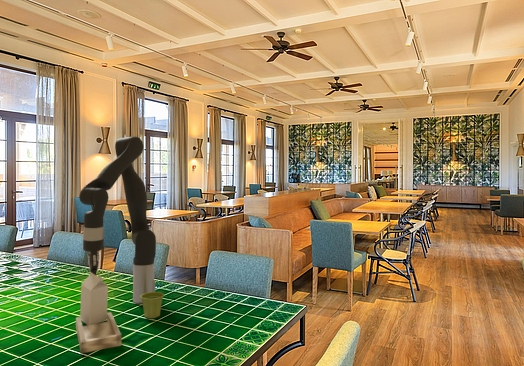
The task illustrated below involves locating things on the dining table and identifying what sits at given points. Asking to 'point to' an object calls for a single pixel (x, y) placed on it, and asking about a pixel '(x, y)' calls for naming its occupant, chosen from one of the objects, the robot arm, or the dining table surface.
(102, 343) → the u rest
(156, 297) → the plant pot
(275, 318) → the dining table surface
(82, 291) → the milk carton
